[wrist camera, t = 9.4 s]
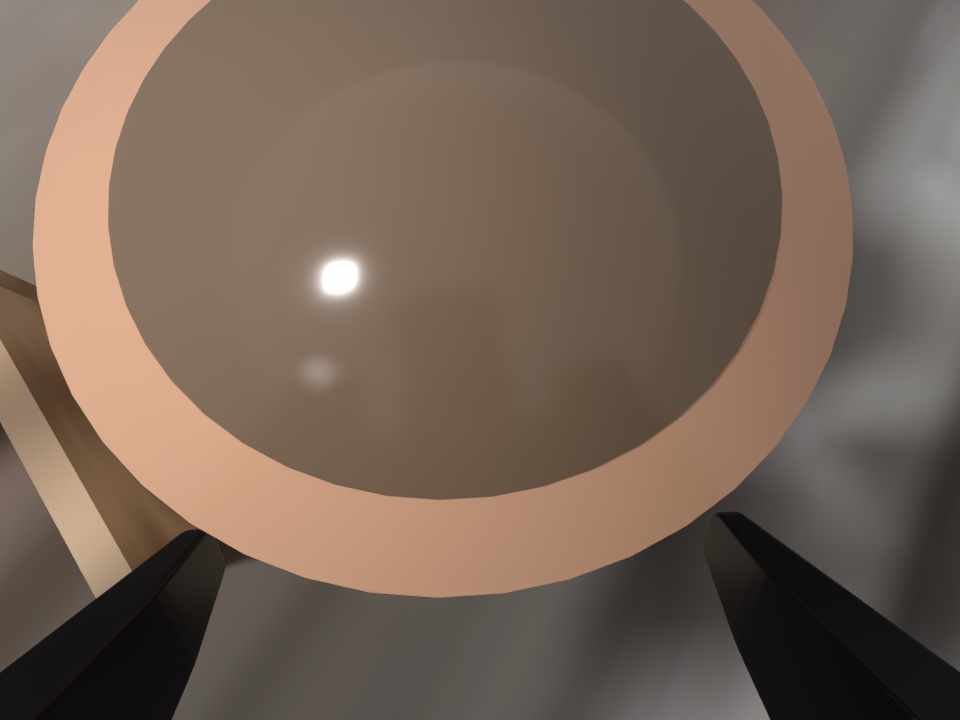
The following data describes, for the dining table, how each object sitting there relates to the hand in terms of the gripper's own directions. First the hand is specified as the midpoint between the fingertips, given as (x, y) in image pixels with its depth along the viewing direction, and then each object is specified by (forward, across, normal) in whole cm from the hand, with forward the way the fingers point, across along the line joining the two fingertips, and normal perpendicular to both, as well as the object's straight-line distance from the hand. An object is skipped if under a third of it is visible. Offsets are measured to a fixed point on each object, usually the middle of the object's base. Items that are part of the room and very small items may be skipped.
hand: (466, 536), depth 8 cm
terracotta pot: (+8, 0, +3) cm, 8 cm away
